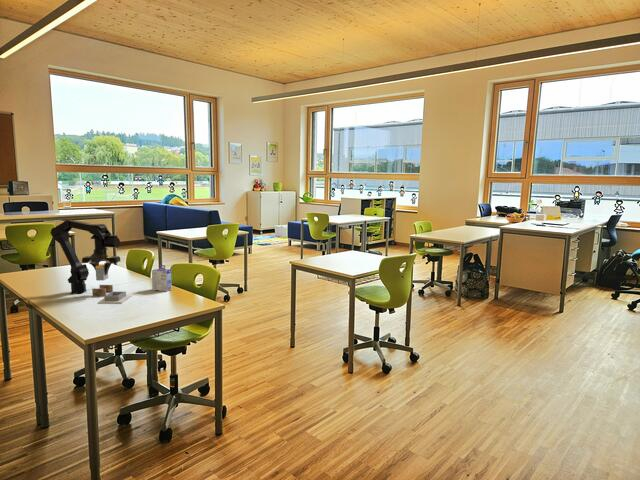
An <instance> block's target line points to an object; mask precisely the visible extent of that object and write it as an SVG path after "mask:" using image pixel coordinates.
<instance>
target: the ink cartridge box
mask: <svg viewBox="0 0 640 480" xmlns="http://www.w3.org/2000/svg"><path fill="white" fill-rule="evenodd" d="M172 280H173V279H172V269H171V268H166V265H165V264H159V267H158V268H154V269H152V270H151V288H152V289H151V290H152V291H155V290H159V292H169V291H171V290H170V289H172V290H173V287H172V286H173V284H172V283H173V282H172ZM168 290H169V291H168Z"/></svg>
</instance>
